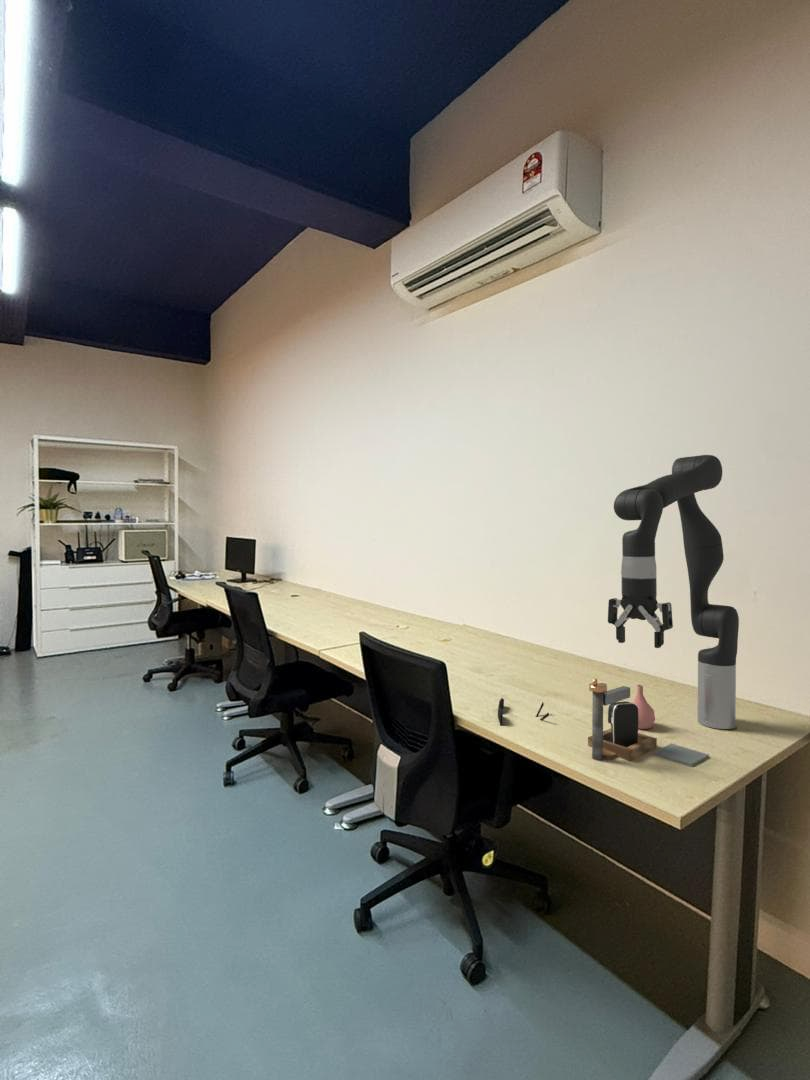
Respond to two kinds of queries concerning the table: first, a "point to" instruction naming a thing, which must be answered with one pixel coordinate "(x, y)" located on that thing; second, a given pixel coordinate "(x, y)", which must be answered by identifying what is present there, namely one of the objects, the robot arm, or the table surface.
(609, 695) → the bar
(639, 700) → the pink vase
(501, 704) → the thin black curved strips
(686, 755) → the pad
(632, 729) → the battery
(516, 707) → the table surface
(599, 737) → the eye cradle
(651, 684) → the table surface
